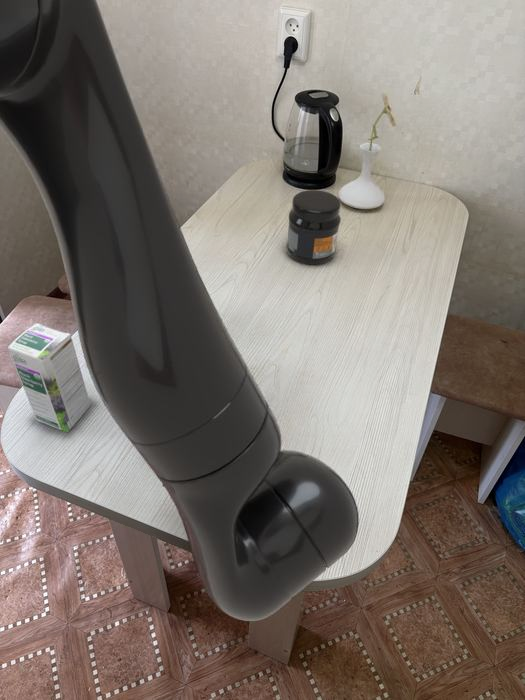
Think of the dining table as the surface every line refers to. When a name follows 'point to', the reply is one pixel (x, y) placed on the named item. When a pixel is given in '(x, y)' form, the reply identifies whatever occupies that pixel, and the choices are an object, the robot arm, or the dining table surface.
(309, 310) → the dining table surface
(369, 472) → the dining table surface
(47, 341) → the syrup box
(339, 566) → the dining table surface
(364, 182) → the flower in vase
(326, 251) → the supplement container
